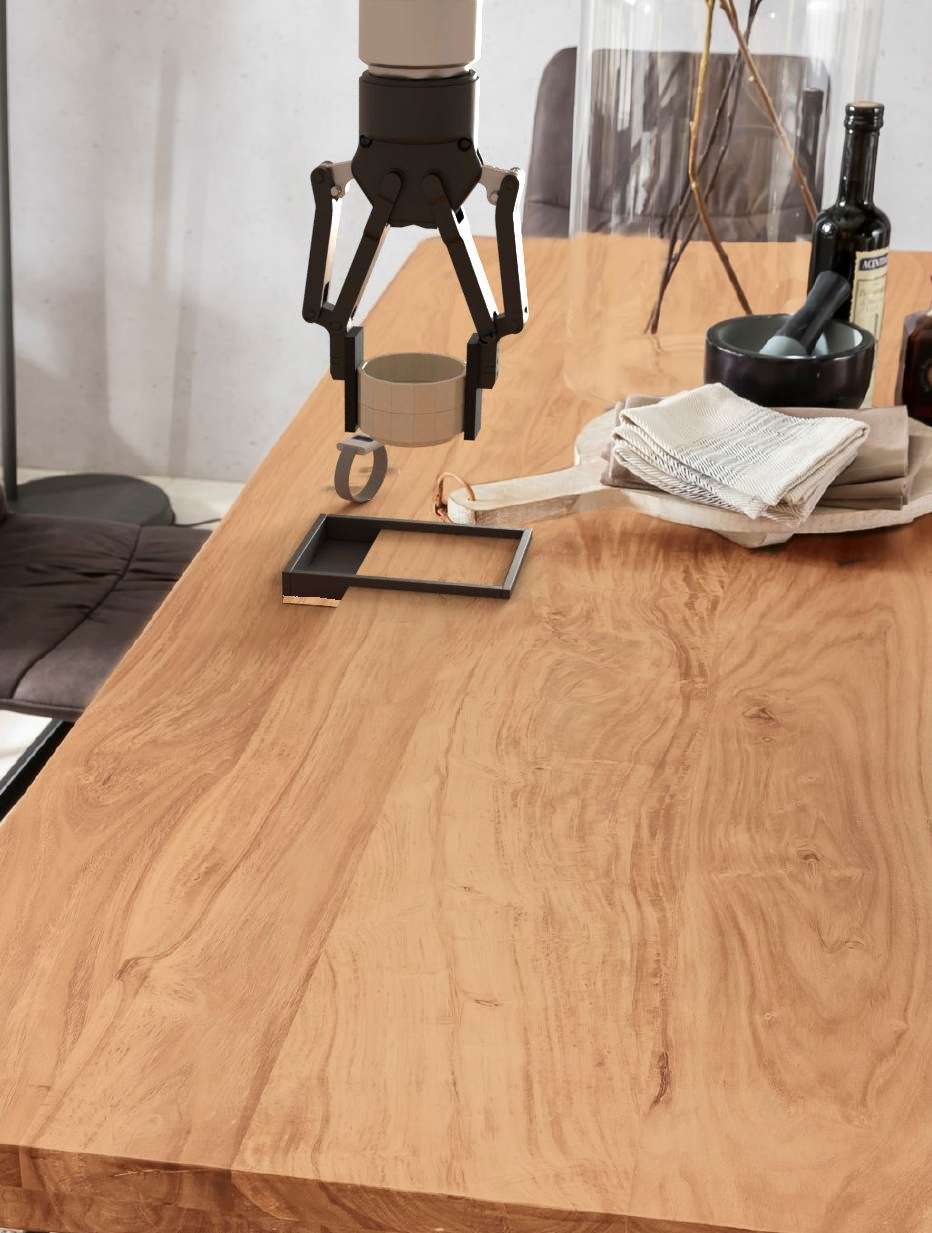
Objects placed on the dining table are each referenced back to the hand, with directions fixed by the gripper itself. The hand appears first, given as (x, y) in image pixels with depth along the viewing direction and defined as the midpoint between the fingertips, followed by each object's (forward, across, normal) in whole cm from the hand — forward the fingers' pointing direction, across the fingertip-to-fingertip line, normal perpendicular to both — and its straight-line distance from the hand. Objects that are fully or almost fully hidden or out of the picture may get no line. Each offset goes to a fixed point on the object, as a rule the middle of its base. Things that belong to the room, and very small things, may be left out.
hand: (412, 430), depth 120 cm
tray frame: (+11, 0, 0) cm, 11 cm away
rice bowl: (0, 0, 0) cm, 0 cm away
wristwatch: (+11, +7, -16) cm, 21 cm away
